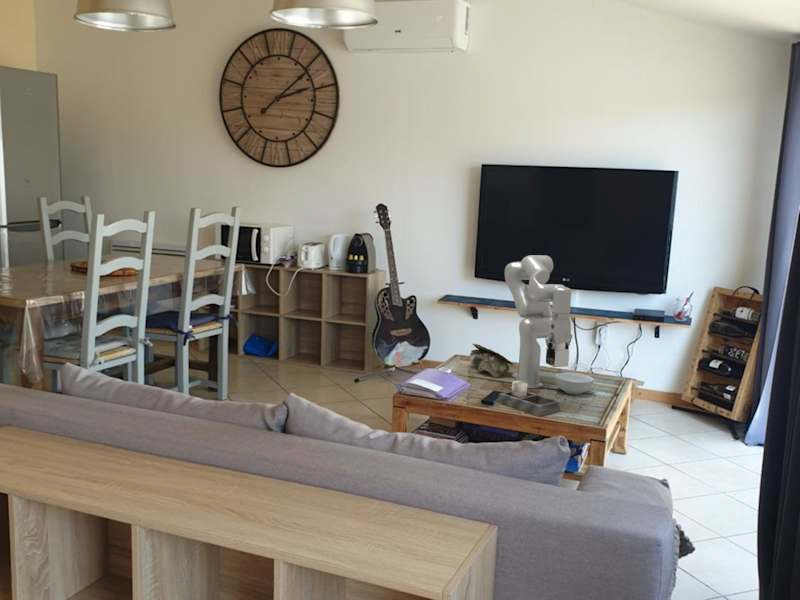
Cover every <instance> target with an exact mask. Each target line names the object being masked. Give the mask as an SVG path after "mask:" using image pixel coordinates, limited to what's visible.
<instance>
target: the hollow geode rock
mask: <svg viewBox="0 0 800 600" xmlns="http://www.w3.org/2000/svg"><path fill="white" fill-rule="evenodd" d="M472 345H473V347H474V348H476V349H472V350H470V351H471V352H470V353H469V360H470V363H471V365H473V366H474V367H475V368H477V370H478V371H479V372H488V373H490V374H491V376H492V377H494V378H501V377H502V376H504V375H505V374H506V372H509V371H510V367H509V365H510V366H514V363H512V361H511V360H509V359H507V358H506V357H505V356H504V355H502V354H500V353H498V352H496V351H494V350H492V349H490V348H487V347H485V346H482V345H480V344H478V343H472Z"/></svg>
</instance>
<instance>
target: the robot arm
mask: <svg viewBox="0 0 800 600" xmlns="http://www.w3.org/2000/svg"><path fill="white" fill-rule="evenodd" d="M553 270H554V262H553V259H552V258H551V256H549V255H546V254H545V255H541V254H537V255H533V254H532V255H526V256H525V257H524V256H523V258H522V260H521V261H513V262H510V263H508V264H506V266H505V268H504V280H505V283H506V285H507V287H508V289H509V291H510V293H511V295H512V298H513V302H514V306H515V309H516V311H517V314H518V317H520V318H521V320H520V322H519V324H518V333H519V356H518V357H519V358H518V371H517V372H514V373H513V374H512V378H515V381H524V382H527V389H539V388H541V387H543V383H542V382H541V381H540V370H541V369H540V368H541V367H540V366H541V351H542V350H541V346H540V344H539V342H538V340H537V339H544V340H545V344H546V349H547V348H548V357H550V358H554V355H555V349H554V347H555V345H556V344H562V343H566V345H565V349H567V350H569V349H570V347H569V346H571V342H572V339H573V336H574V335H573V334H572V322H571V319H570V316H571V315H570V314H571V301H572V289H571V288H569V287H566V286H565V285H564V284H559V283H558V284H557V283H556V284H554V283H550V284H549V283H547V282H548V281H549V279H550V275H551V273H552V271H553ZM523 280H524V281H527V280H528V285H527V284H526V283H525V282H523ZM550 302H551V303H552V305H551V303H550ZM552 343H553V345H552ZM569 351H570V350H569Z"/></svg>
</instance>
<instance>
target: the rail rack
mask: <svg viewBox="0 0 800 600" xmlns="http://www.w3.org/2000/svg"><path fill="white" fill-rule="evenodd" d="M498 403H499V404H502V405H504V406H508V407H511V408H514V409H517V410H519V411H522V412H524V413H525V412H526V413H528V414H531V415H534V416H537V417H542V416H545V415H549V414H554V413H557V412H560V411H561V405H562V404H561V403H562V402H561V400H560V401H559V400H556V399H553V398H551V397H547V396H544V395H541V394H537V393H534V392H531V391H528V388H527V382H524V381H516V380H513V381H512V383H511V390H509V391H505V392H504V391H503V392H500V393H498Z"/></svg>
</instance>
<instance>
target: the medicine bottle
mask: <svg viewBox="0 0 800 600" xmlns="http://www.w3.org/2000/svg"><path fill="white" fill-rule="evenodd" d="M552 345H553V343H552ZM565 345H566V343H562V344H556V345H555V347H554V349H555V355H554V358H550V357H548V348H547V347H546V350H545V351H546V352H545V364H547V365H549V366H551V367H552V368H565V367H569V362H570V350H567V349H565Z"/></svg>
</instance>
